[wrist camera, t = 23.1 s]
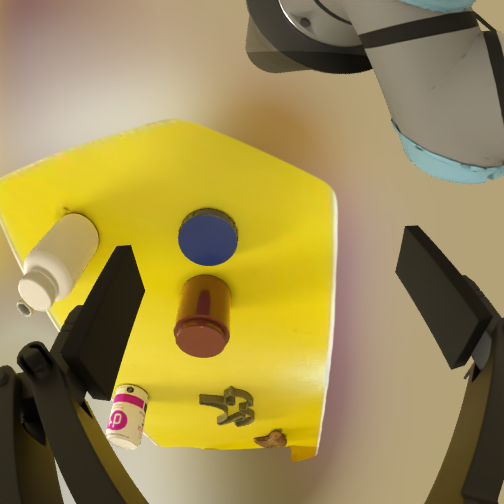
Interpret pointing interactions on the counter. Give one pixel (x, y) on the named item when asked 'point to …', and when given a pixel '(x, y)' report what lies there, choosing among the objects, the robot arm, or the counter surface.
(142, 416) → the supplement can
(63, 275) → the pill bottle
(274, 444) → the brown irregular lump
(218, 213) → the jam lid
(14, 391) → the robot arm
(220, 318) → the jam jar
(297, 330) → the counter surface
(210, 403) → the cookie cutter
